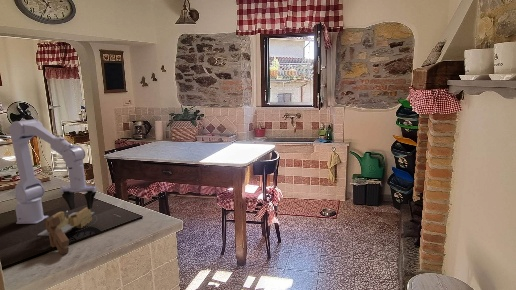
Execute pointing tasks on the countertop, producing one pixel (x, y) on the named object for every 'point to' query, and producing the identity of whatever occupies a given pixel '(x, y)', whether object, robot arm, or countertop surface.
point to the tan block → (80, 218)
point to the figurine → (57, 235)
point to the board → (64, 229)
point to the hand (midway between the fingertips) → (81, 208)
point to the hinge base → (62, 219)
